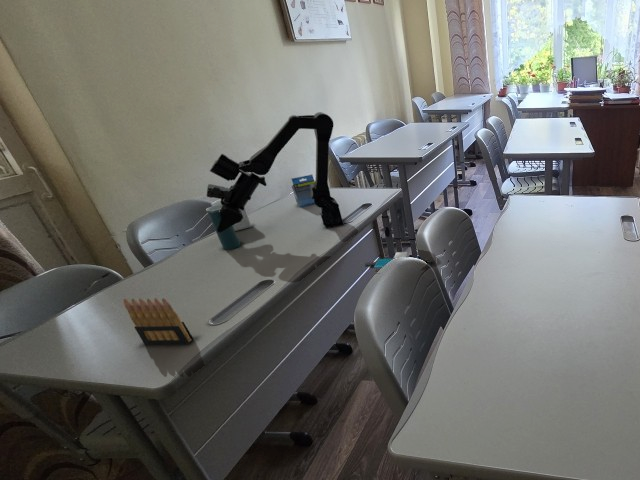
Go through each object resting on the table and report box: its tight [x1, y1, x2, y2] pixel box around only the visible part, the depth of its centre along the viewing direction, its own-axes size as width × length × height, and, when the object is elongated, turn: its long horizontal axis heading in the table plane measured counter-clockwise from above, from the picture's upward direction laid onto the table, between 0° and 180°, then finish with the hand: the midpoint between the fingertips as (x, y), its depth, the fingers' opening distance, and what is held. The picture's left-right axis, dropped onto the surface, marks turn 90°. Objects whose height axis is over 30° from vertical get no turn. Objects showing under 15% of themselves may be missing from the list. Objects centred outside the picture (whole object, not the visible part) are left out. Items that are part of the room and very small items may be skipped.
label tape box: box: [290, 174, 315, 208], centre depth 171 cm, size 9×4×12 cm, turn 130°
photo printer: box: [210, 198, 252, 232], centre depth 148 cm, size 10×4×12 cm, turn 134°
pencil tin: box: [205, 205, 241, 250], centre depth 134 cm, size 6×6×14 cm
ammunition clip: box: [123, 297, 194, 346], centre depth 89 cm, size 11×2×12 cm, turn 88°
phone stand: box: [364, 251, 432, 274], centre depth 121 cm, size 20×12×2 cm, turn 91°
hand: (218, 227), depth 133 cm, fingers open, 9 cm apart
